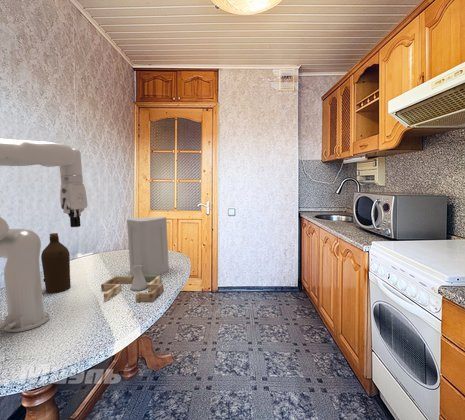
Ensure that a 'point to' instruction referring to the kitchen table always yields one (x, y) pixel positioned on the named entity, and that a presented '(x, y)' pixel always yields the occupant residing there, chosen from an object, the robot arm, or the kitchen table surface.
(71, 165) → the robot arm
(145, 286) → the flask
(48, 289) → the olive oil
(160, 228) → the paper bag
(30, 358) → the kitchen table surface
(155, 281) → the zigzag wooden frame
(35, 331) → the kitchen table surface
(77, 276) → the kitchen table surface
